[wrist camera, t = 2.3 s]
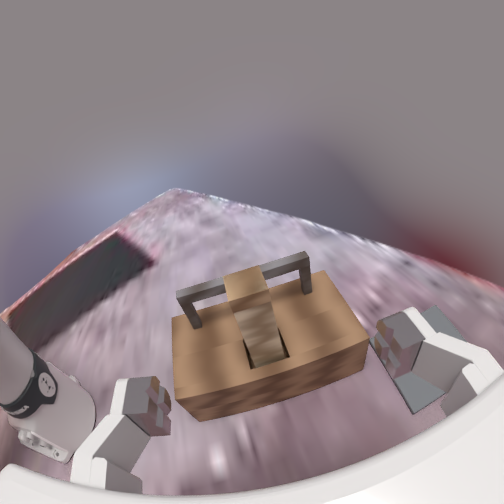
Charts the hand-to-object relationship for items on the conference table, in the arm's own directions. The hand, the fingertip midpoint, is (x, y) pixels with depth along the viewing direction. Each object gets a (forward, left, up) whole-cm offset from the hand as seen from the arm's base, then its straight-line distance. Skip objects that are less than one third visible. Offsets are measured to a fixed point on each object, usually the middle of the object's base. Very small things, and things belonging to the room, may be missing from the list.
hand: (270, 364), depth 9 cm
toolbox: (0, +18, -27) cm, 32 cm away
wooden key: (0, +15, -23) cm, 28 cm away
